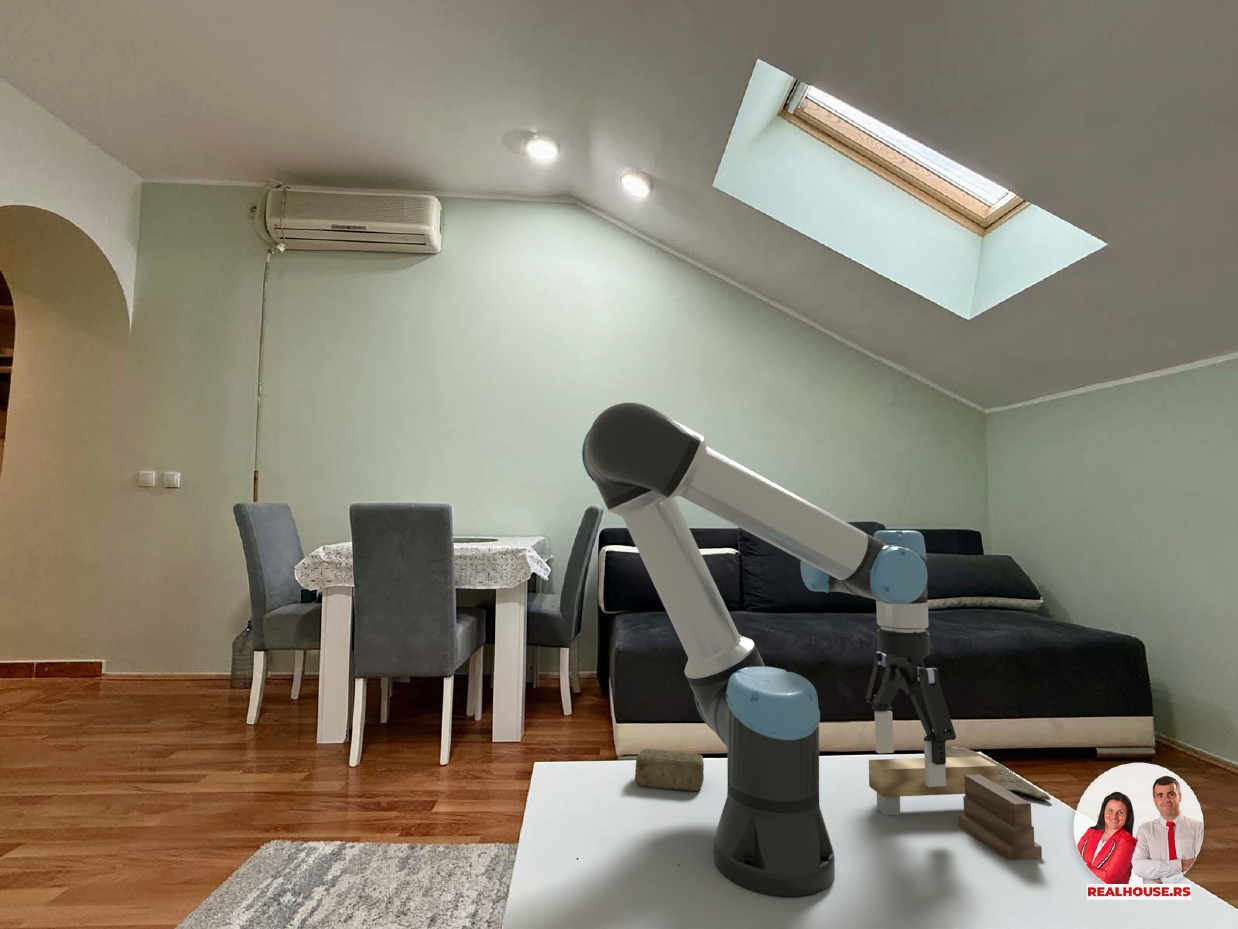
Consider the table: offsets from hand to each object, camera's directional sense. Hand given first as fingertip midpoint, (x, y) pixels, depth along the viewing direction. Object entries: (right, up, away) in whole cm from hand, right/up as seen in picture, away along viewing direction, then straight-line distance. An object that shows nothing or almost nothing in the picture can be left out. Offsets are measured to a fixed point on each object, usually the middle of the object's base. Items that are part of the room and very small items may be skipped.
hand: (908, 768), depth 99 cm
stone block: (-37, -7, +8) cm, 38 cm away
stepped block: (+8, -6, -10) cm, 14 cm away
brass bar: (+4, -3, 0) cm, 5 cm away
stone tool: (+19, -9, +15) cm, 26 cm away
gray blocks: (+4, -6, 0) cm, 7 cm away
